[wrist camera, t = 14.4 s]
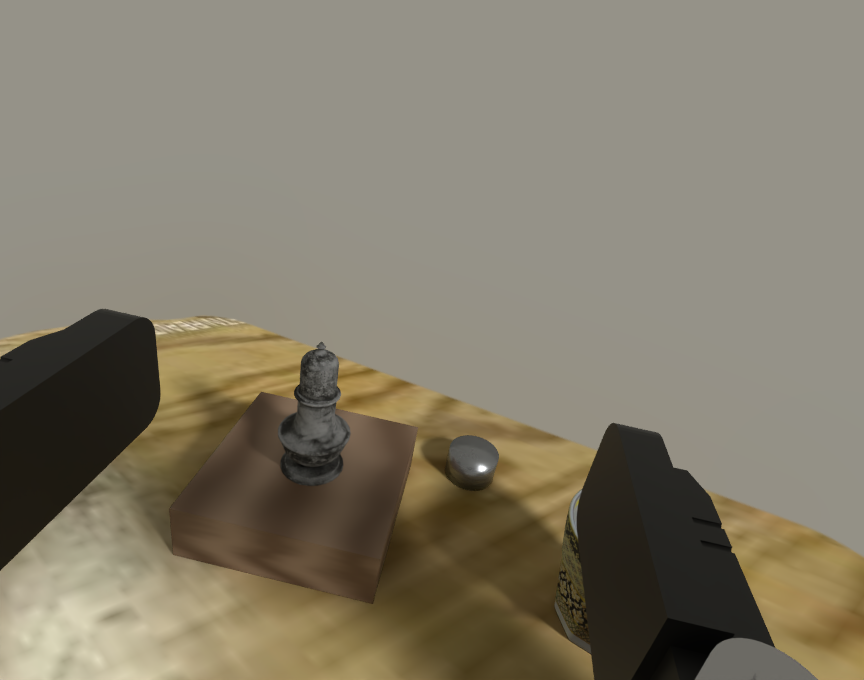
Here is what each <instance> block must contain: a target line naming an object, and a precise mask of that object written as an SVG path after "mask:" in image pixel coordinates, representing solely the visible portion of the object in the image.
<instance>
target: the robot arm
mask: <svg viewBox="0 0 864 680" xmlns="http://www.w3.org/2000/svg"><path fill="white" fill-rule="evenodd" d="M159 402H160V381H159V370H158V358H157V347H156V336H155V329H154V326H153V324H152V322H151V321H150V320H149V319H147V318H144V317H138V316H135V315H130V314H126V313H121V312H117V311H112V310H108V309H100V310H97V311H95V312H93V313H91V314H90V315H88V316H86V317H85V318H83V319H81V320H80V321H78V322H76V323H74V324H73V325H71V326H69V327H68V328H66V329H64V330H61V331H58V332H55V333H52V334H48V335H45V336H42V337H39V338H36V339H33V340H29V341H28V342H26V343H24V344H22V345H21V346H19V347H17V348H15V349H13V350H12V351H10V352H8V353H6V354H5V355H3V356H1V359H0V570H1V569H2V568H3V567H4V566H6V565H7V564H8V563H9V562H10V561H11V560H12V559H13V558H14V557H15V556H16V555H17V554H18V553H19V552H20V551H21V550H22V549H23V548H24V547H25V546H26V545H27V544H28V543H29V542H30V541H31V540H32V539H33V538H34V537H35V536H36V535H37V534H38V533H39V532H40V531H41V530H42V529H43V528H44V527H45V526H46V525H47V524H48V523H50V522H51V521H52V520H53V519H54V518H55V517H56V516H57V515H58V514H59V513H60V512H61V511H62V510H63V509H64V508H65V507H66V506H67V505H68V504H69V503H70V502H71V501H72V500H73V499H74V498H75V497H76V496H77V495H78V494H79V493H80V492H81V491H82V490H83V489H84V488H85V487H86V486H87V485H88V484H89V483H90V482H91V481H92V480H94V479H95V478H96V477H97V476H98V475H99V474H100V473H101V472H102V471H103V470H104V469H105V468H106V467H107V466H108V465H109V464H110V463H111V462H112V461H113V460H114V459H115V458H116V457H117V456H118V455H119V454H120V453H121V452H122V451H123V450H124V449H125V448H126V447H127V446H128V445H129V444H130V443H131V442H132V441H133V440H134V439H135V438H136V437H138V436H139V435H140V434H141V433H142V432H143V431H144V430H145V429H146V428H147V427H148V425H149V424H150V423H151V421H152V420H153V418H154V416H155V414H156V412H157V409H158V406H159ZM721 525H722V523H721V521H720V518H719V516H718V514H717V511H716V509H715V507H714V504H713V502H712V500H711V497H710V496H709V495H708V494H707V492H706V491H705V490H704V489H703V488H702V487H701V486H700V485H699V483H698V482H697V481H696V480H695V479H694V478H693V477H692V476H691V474H690V473H689V472H688V471H687V470H682V469H677V468H673V466H672V463H671V460H670V457H669V455H668V452H667V449H666V447H665V444H664V441H663V439H662V437H661V435H660V434H659V433H656V432H652V431H647V430H642V429H638V428H634V427H629V426H625V425H620V424H615V423H612V424H610V426H609V427H608V428H607V430H606V432H605V434H604V436H603V439H602V441H601V444H600V447H599V449H598V451H597V454H596V456H595V459H594V461H593V464H592V466H591V469H590V471H589V474H588V476H587V479H586V481H585V484H584V486H583V489H582V492H581V495H580V499H579V503H578V509H577V535H578V544H579V553H580V561H581V570H582V578H583V587H584V595H585V604H586V613H587V621H588V630H589V638H590V647H591V655H592V664H593V673H594V680H818V679H817V678H816V677H815V676H814V675H812V674H811V673H810V672H809V671H808V670H807V669H806V668H805V667H803V666H802V665H801V664H800V663H798V662H797V661H796V660H794V659H793V658H791V657H790V656H788V655H787V654H785V653H783V652H782V651H780V650H778V649H776V648H775V646H774V644H773V641H772V639H771V637H770V634H769V632H768V630H767V627H766V625H765V623H764V620H763V618H762V616H761V613H760V611H759V609H758V606H757V604H756V602H755V599H754V597H753V595H752V593H751V590H750V588H749V586H748V583H747V581H746V579H745V576H744V574H743V572H742V569H741V567H740V565H739V562H738V560H737V558H736V555H735V553H732V552H731V549H732V546H731V544H730V542H729V539H728V537H727V535H726V532H725V530H724V529H721Z"/></svg>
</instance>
